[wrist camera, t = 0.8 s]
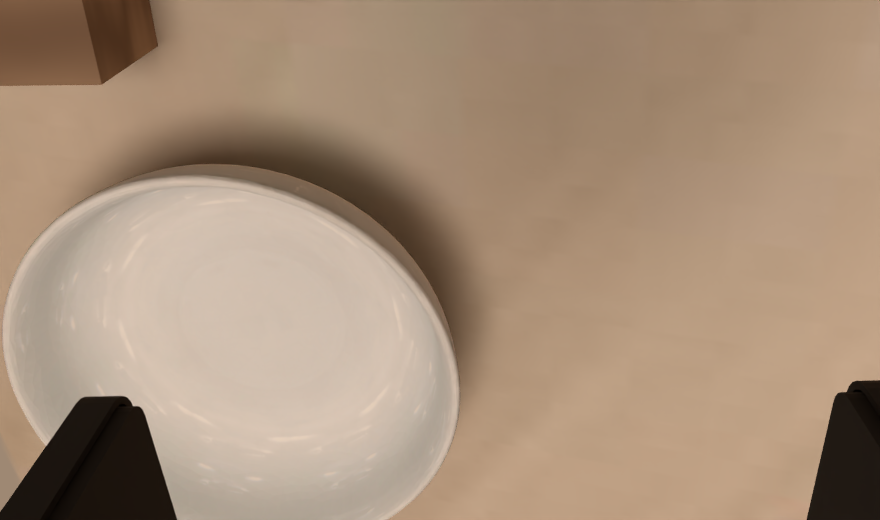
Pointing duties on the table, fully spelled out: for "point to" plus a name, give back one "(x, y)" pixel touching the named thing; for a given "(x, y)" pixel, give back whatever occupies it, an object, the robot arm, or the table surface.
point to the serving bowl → (242, 342)
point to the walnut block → (72, 40)
